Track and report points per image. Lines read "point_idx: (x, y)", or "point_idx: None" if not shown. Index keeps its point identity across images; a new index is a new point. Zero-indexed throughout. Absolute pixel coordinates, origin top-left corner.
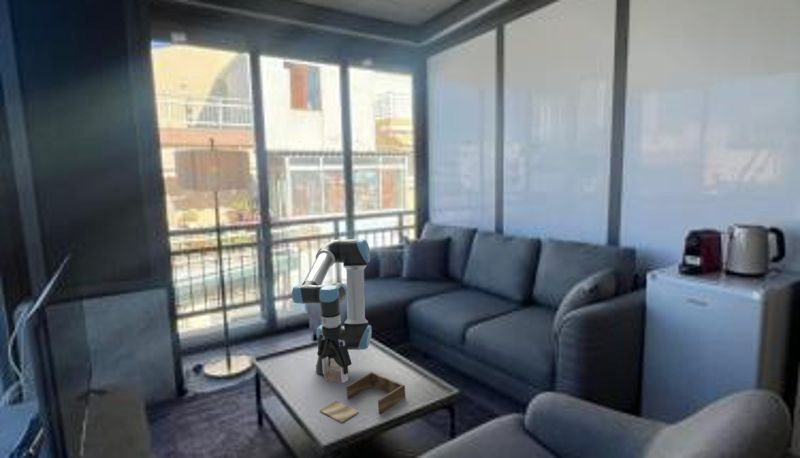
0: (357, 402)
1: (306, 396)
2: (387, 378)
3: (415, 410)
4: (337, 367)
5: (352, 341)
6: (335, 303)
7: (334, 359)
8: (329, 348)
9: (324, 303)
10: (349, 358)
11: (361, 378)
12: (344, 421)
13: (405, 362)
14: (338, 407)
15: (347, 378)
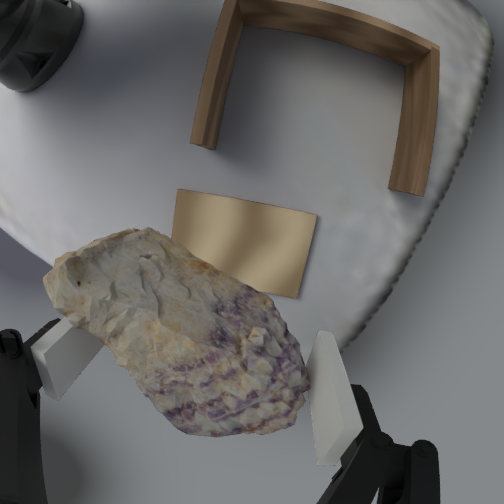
0: (263, 150)
1: (69, 215)
2: (340, 7)
3: (471, 128)
4: (222, 383)
5: None
6: None
7: (68, 259)
8: (20, 464)
9: None
10: (434, 495)
11: (217, 48)
12: (299, 286)
13: None
14: (220, 226)
15: (333, 343)
